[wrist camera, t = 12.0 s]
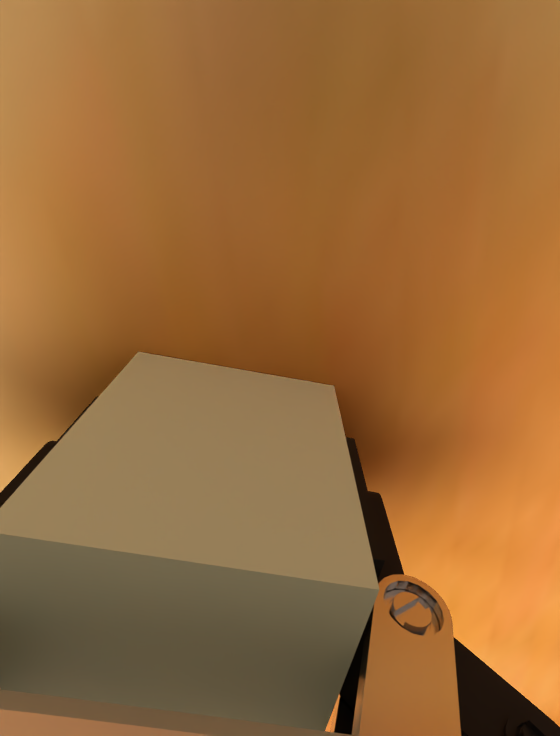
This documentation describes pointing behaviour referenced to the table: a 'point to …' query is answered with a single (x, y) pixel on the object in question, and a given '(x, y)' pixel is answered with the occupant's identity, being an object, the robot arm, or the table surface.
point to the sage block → (190, 550)
